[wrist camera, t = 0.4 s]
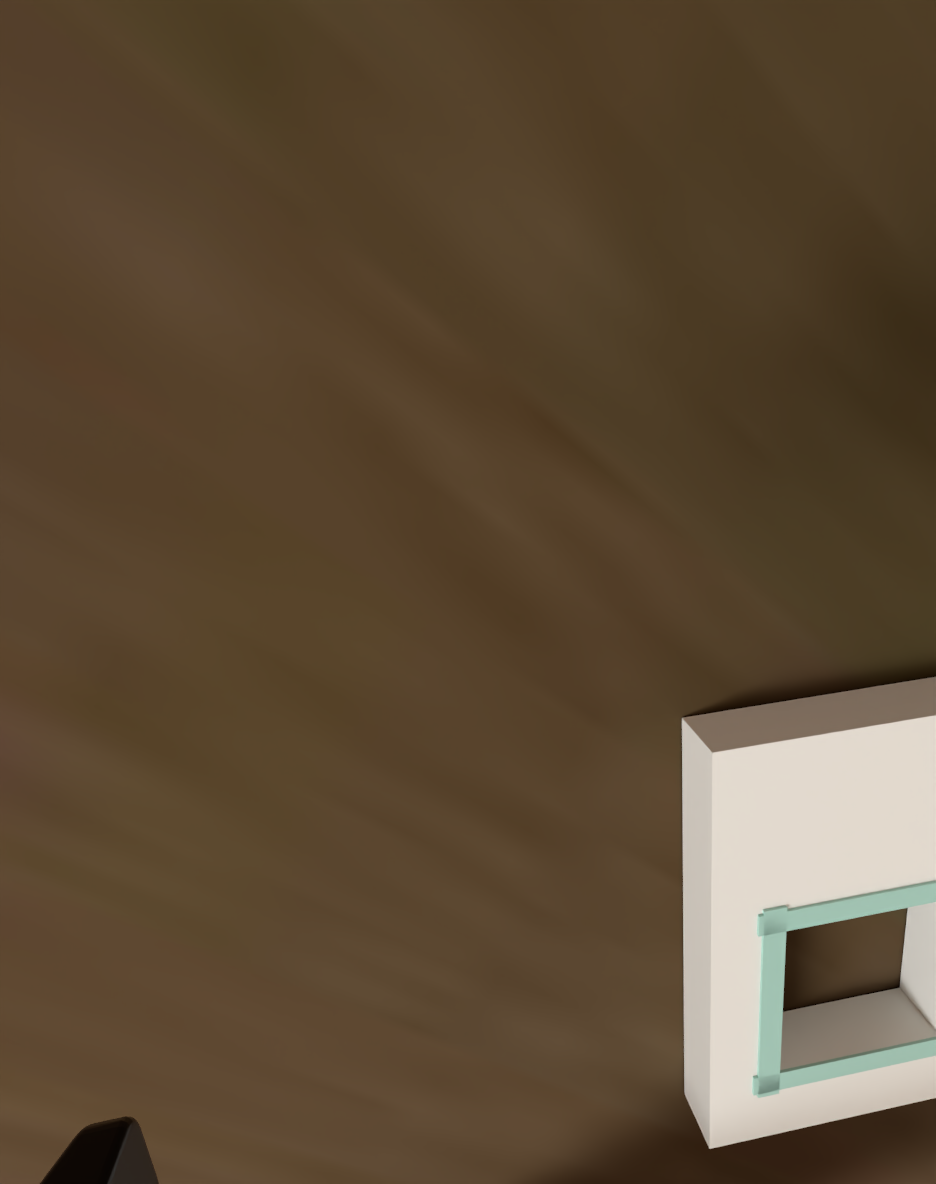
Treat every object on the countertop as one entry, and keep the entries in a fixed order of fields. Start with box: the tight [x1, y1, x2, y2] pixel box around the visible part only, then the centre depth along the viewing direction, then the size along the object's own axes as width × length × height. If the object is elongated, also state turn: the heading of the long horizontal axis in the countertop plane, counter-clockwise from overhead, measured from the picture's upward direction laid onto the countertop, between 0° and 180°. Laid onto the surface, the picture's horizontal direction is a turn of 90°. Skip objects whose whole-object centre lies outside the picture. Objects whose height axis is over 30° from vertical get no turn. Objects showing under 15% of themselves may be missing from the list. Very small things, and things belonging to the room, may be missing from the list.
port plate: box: [682, 677, 936, 1149], centre depth 25 cm, size 14×10×2 cm
